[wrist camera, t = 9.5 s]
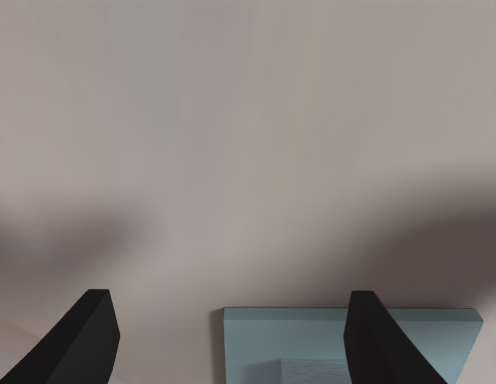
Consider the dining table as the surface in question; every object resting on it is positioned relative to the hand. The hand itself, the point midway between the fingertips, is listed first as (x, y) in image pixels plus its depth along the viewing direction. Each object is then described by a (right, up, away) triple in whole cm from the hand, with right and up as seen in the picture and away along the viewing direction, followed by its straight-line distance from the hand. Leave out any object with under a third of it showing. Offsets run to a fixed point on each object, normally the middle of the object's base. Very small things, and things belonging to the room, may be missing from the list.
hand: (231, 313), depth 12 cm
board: (+7, -11, +17) cm, 21 cm away
